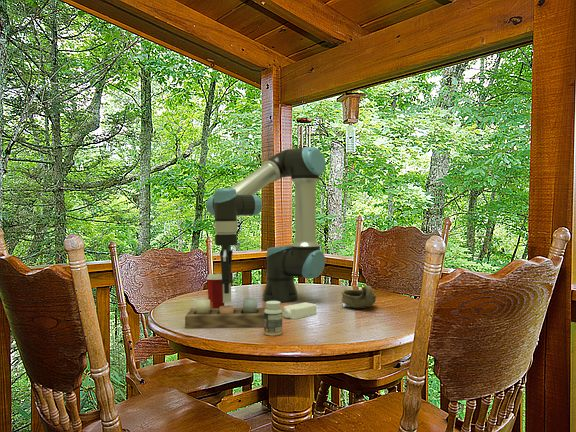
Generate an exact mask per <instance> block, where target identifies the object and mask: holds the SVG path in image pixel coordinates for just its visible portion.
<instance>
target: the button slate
mask: <svg viewBox="0 0 576 432" xmlns="http://www.w3.org/2000/svg"><path fill="white" fill-rule="evenodd" d="M242 308H243V313H257V308H258V299H257V298H244V299H242Z"/></svg>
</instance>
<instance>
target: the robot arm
mask: <svg viewBox="0 0 576 432" xmlns="http://www.w3.org/2000/svg"><path fill="white" fill-rule="evenodd" d="M325 169H326V161H325V157H324V154H323V153H322V151H321V150H320V149H319V148H317V147H316V146H305V147H298V148H289V149H284V150H281V151H279V152H278V153H275V154H274V155H272V156H271V157H269V158H268V159H266V160H265V161H263V162H262V164H261V166H260V167H258V168H257V169H256V170H255V171H253V172H252V173H250V174H249V175H247V176H245V177H244V178H242V179H241V180H240V181H239V182H237V183H236V184H234V185H233V186H231V187H229V188H228V187H227V188H222V187H221V188H216V189H215V190H214V192H213V193H214V195H212V196H209V198H207V201H206V210H207V212H208V213H209V214H210V215H212V216H214V223H213V224H212V227H213V228H214V233H215V235H214V244H215V246H220V247H221V250H220V251H219V256H220V257H219V258H220V264H221V265H220V267H221V269H220V270H221V274H222V282H220V283H221V284H223V303H224V304H230V303H232V283H234V280H232V262H233V252H234V251H233V250H232V248H231V246H237V244H238V235H237V233H238V219H237V218H238V217H239V216H240V217H241V216H245V217H247V216H251V217H252V216H257V215H259V214H260V213H261V211H262V210H263V200H262V198H261V197H260V196H258V195H257V193H258V192H259V191H261V190H262V189H263V188H265V187H266V186H268V185H269V184H270V183H272V182H277V181H278V180H280V179H283V178H287V177H289V178H290V177H291V178H290V179H291V181H292V183H294V208H295V209H294V216H295V217H294V242H293V243H292V244H290V245H282V246H274V247H269V248H267V251H266V258H265V259H266V283H265V284H266V285H265V287H264V289H263V294H262V300H264V301H266V302H267V301H279V302H281V303H288V302H294V301H297V300H298V299H299V298H298V297H299V294H298V290H297V287H296V284H295V280H294V278H304V279H316V278H318V277H319V276H320V275H321V274H322V273H323V271H324V269H325V265H326V257H325V255H324V254H325V253H324V252H323V251H322V250H320V245H319V244H318V242H317V237H316V234H317V232H316V230H317V229H316V227H317V226H316V224H317V222H316V221H317V220H316V219H317V217H316V215H317V214H316V206H317V205H316V202H317V201H316V200H317V199H316V198H317V197H316V192H317V191H316V184H317V183H318V182H319V181H320V175H322V174H323V173H324V171H325Z"/></svg>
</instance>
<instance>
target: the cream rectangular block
mask: <svg viewBox="0 0 576 432" xmlns="http://www.w3.org/2000/svg"><path fill="white" fill-rule="evenodd" d="M317 309H318V308H317V304H315V303H311V302H306V301H305V302H300V303H295V304H290V305H284V306H283V307H282V318H286V319H289V320H290V319H291V320H298V319H299V320H300V319H302V318H308V317H312V316H316V315H317Z"/></svg>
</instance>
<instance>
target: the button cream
mask: <svg viewBox="0 0 576 432" xmlns="http://www.w3.org/2000/svg"><path fill="white" fill-rule="evenodd" d="M195 309H196V314H210V300H209V299H208V298H202V299H195Z"/></svg>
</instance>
